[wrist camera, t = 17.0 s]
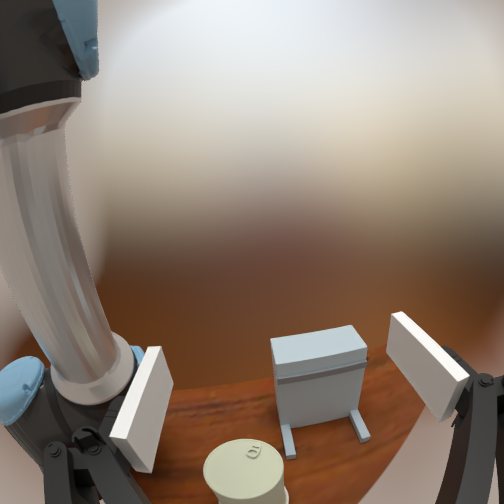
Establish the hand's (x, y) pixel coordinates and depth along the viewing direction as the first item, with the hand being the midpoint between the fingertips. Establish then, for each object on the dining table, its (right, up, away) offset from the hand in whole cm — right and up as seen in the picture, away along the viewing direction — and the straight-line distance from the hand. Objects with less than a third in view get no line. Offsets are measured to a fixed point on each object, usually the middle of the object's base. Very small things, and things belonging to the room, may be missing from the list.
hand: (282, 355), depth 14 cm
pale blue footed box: (+10, -25, +27) cm, 38 cm away
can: (-1, -30, +13) cm, 32 cm away
